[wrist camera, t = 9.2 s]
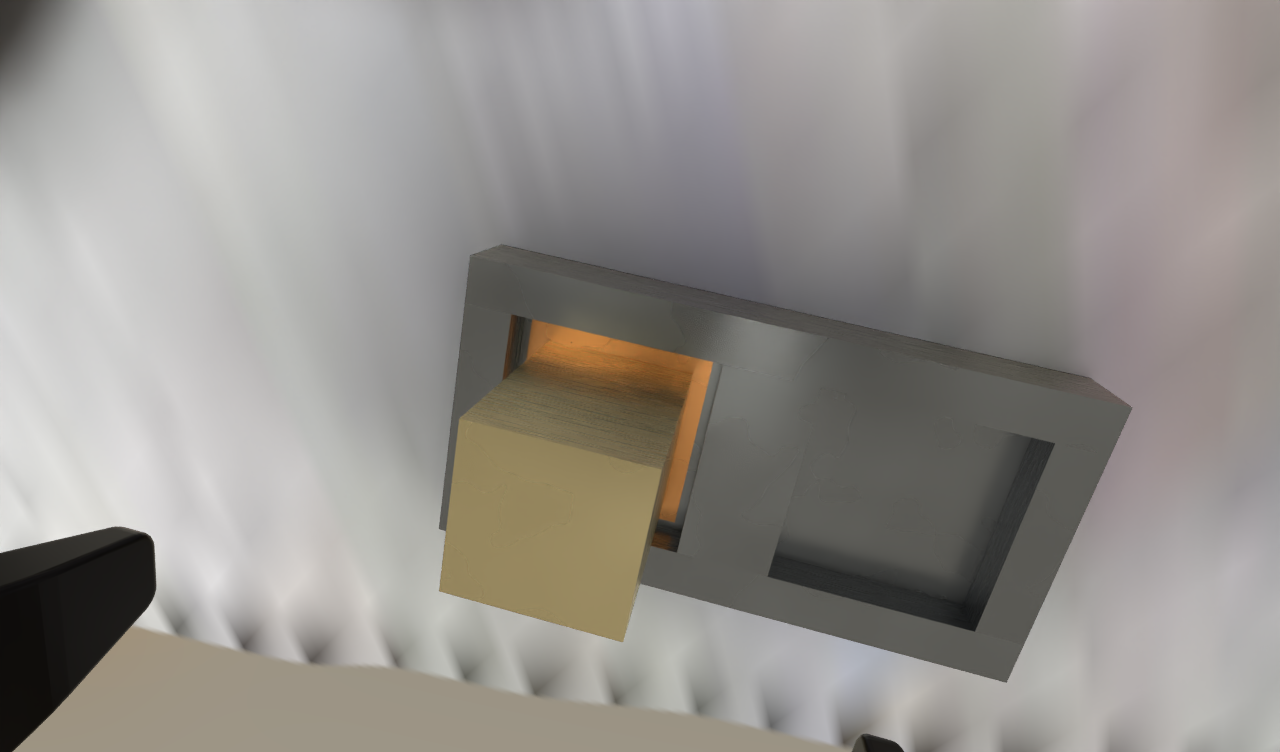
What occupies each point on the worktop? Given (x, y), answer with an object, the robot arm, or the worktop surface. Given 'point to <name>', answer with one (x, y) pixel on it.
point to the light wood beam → (563, 487)
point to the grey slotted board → (824, 457)
